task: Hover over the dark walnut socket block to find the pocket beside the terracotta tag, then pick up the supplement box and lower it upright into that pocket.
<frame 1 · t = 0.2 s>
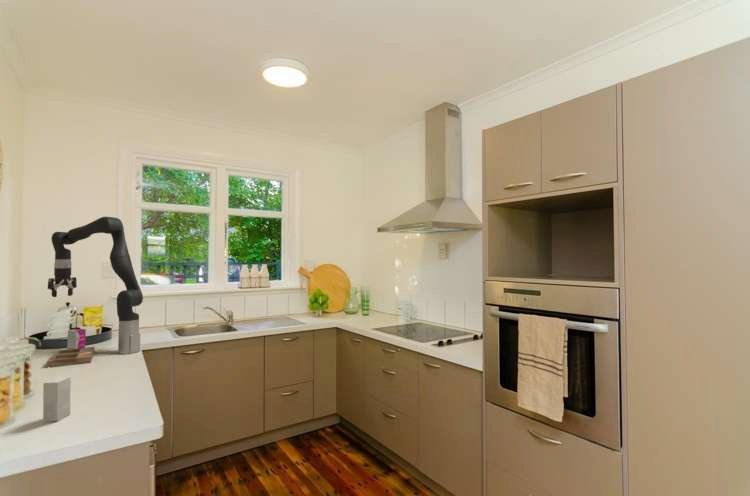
hand: (62, 296, 219), 29 cm above the countertop, tool pointing down, fingers open, 8 cm apart
skincare box: (56, 419, 122), on the countertop
socket block: (67, 360, 193), on the countertop
supplement box: (76, 351, 213), on the countertop
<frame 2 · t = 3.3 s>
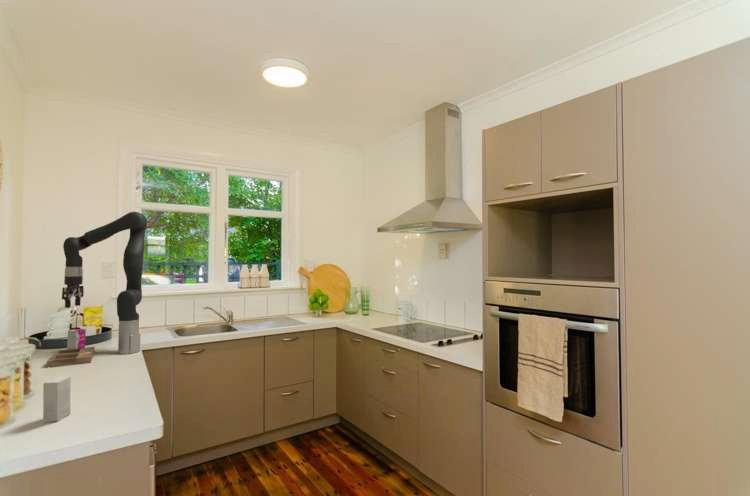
hand: (72, 306, 204), 25 cm above the countertop, tool pointing down, fingers open, 8 cm apart
nothing on the countertop moved.
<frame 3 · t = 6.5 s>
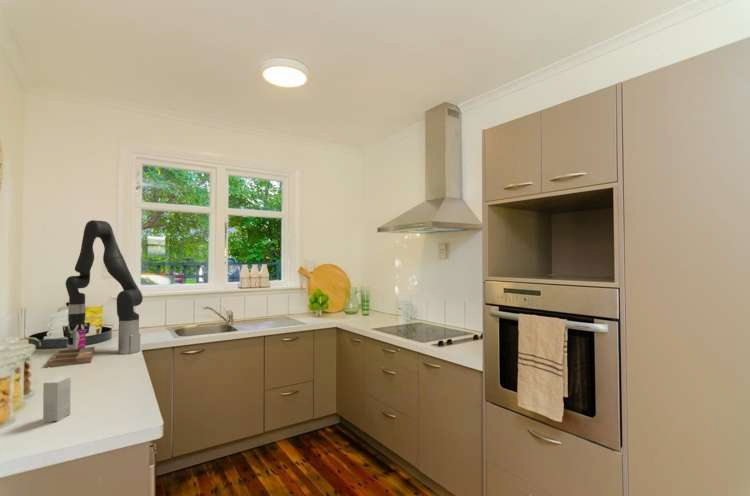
hand: (76, 343, 213), 4 cm above the countertop, tool pointing down, fingers closed on supplement box, 5 cm apart
supplement box: (76, 351, 213), on the countertop, touching gripper
everything else where it was.
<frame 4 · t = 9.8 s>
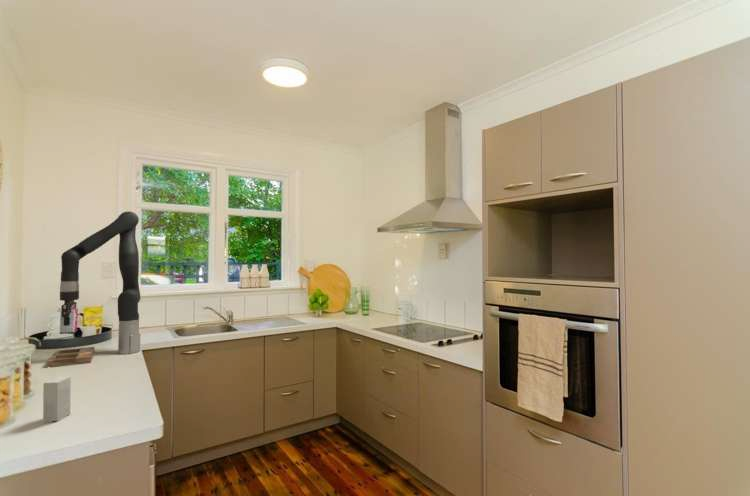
hand: (68, 324, 193), 18 cm above the countertop, tool pointing down, fingers closed on supplement box, 5 cm apart
supplement box: (68, 333, 193), point 13 cm above the countertop, touching gripper
everything else where it was.
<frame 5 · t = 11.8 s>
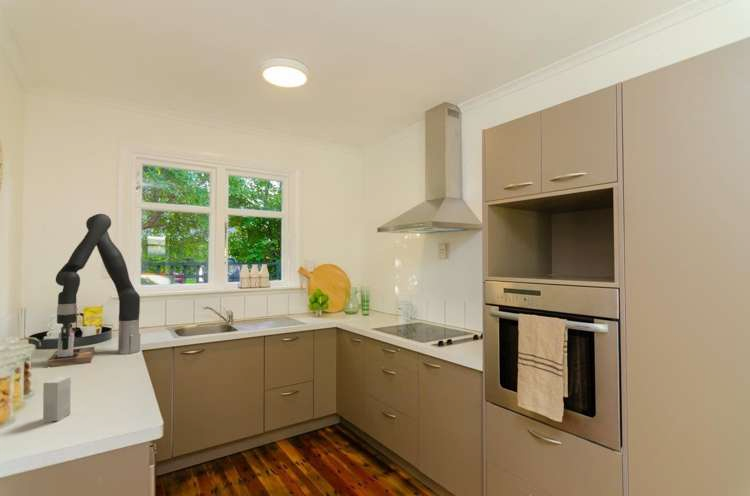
hand: (66, 347, 188), 7 cm above the countertop, tool pointing down, fingers closed on supplement box, 5 cm apart
supplement box: (65, 356, 188), point 3 cm above the countertop, touching gripper
everything else where it was.
when the fingers open (4 cm above the countertop, at t = 13.1 s): supplement box stays where it is, resting in socket block.
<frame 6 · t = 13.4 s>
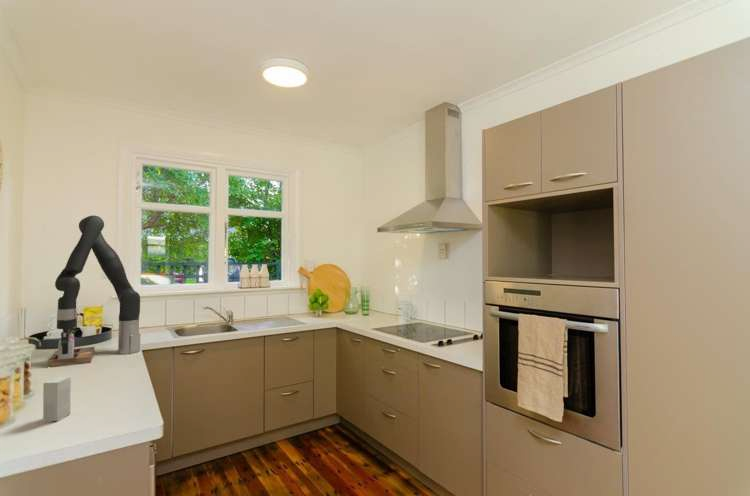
hand: (66, 352, 188), 5 cm above the countertop, tool pointing down, fingers open, 7 cm apart
supplement box: (65, 363, 188), resting in socket block
everything else where it was.
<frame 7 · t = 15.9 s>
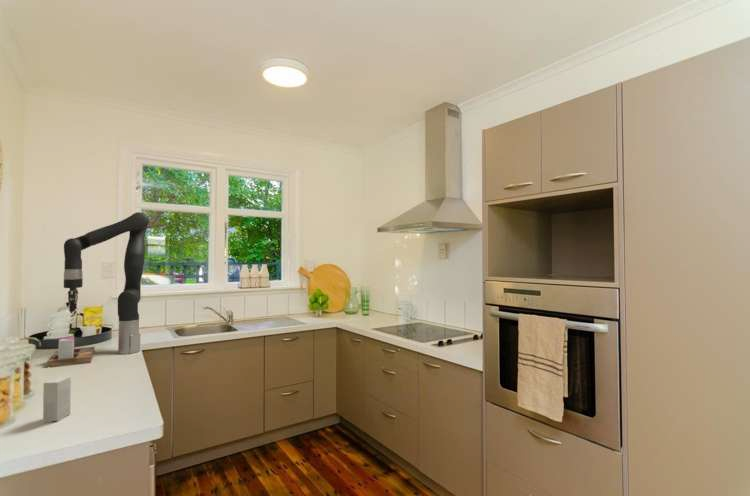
hand: (73, 310, 196), 24 cm above the countertop, tool pointing down, fingers open, 8 cm apart
nothing on the countertop moved.
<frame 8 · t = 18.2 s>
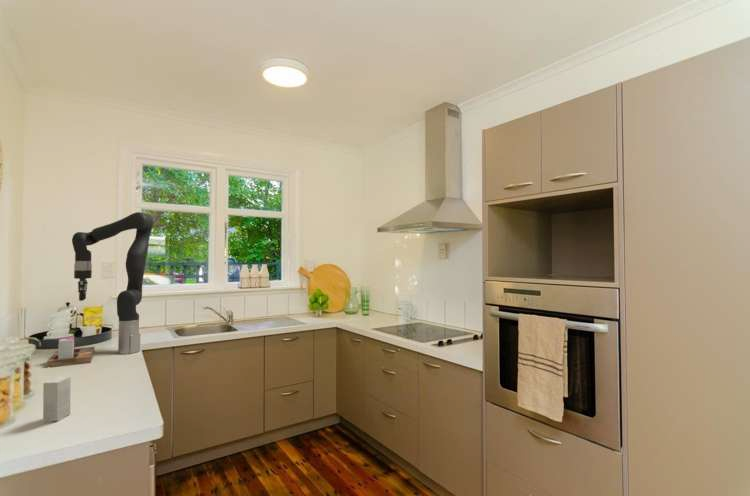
hand: (82, 299, 209), 28 cm above the countertop, tool pointing down, fingers open, 8 cm apart
nothing on the countertop moved.
at the end: supplement box 0.2 cm from the target spot on the socket block, point 0.0 cm above the socket block's base; supplement box tilted 0°; the gripper is holding nothing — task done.
